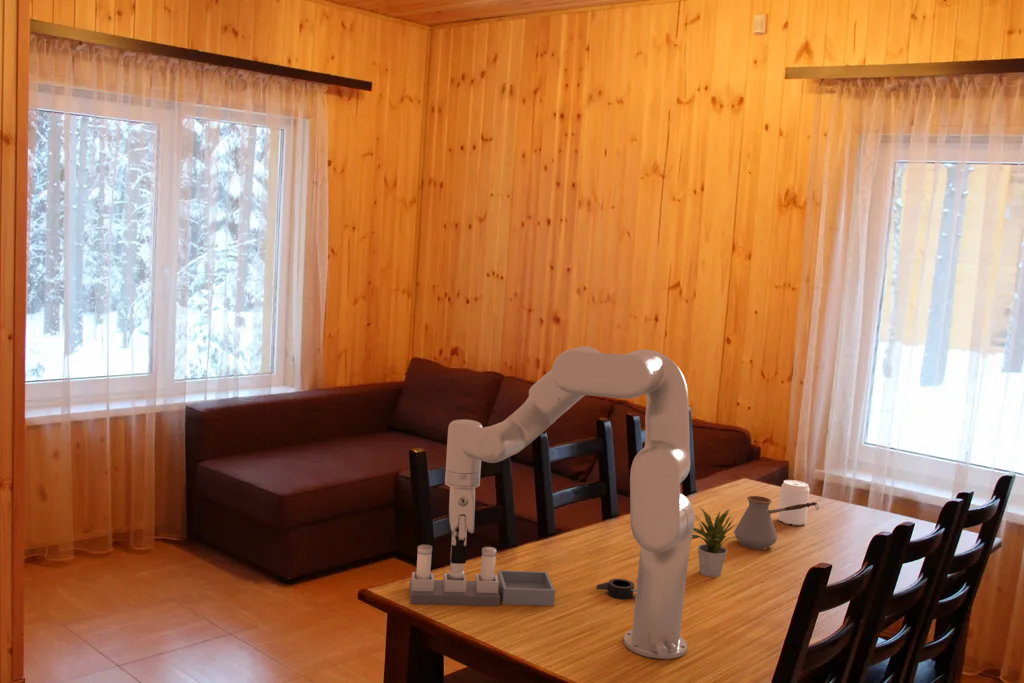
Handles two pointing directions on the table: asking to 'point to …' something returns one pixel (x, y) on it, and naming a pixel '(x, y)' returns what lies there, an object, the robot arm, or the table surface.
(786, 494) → the beverage can
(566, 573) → the table surface
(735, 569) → the table surface
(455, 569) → the marked fuse
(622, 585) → the black ring with handle
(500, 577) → the tray
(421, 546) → the fuse left
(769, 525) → the coffee pot
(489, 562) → the fuse right
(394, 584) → the table surface
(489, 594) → the block
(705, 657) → the table surface
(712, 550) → the house plant
